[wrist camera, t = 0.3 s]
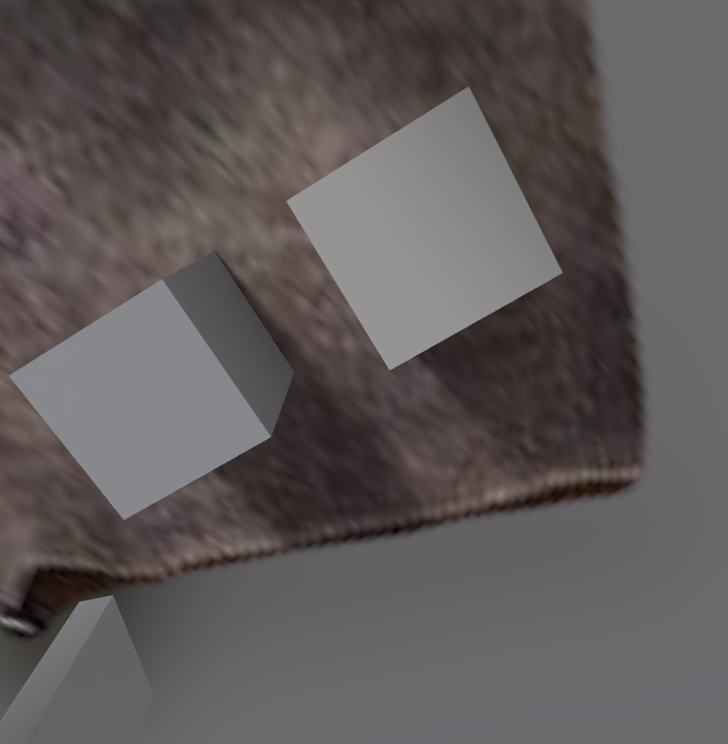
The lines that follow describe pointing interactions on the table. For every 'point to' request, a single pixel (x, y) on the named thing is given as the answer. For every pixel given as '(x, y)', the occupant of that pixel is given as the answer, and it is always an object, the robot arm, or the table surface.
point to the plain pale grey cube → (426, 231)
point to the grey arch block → (162, 386)
